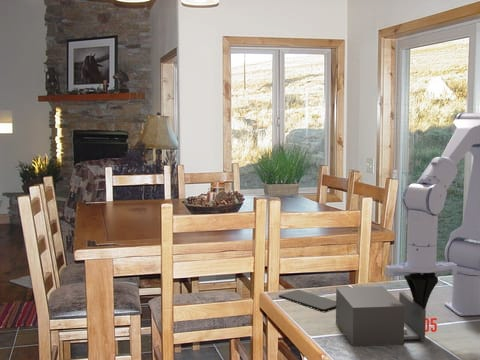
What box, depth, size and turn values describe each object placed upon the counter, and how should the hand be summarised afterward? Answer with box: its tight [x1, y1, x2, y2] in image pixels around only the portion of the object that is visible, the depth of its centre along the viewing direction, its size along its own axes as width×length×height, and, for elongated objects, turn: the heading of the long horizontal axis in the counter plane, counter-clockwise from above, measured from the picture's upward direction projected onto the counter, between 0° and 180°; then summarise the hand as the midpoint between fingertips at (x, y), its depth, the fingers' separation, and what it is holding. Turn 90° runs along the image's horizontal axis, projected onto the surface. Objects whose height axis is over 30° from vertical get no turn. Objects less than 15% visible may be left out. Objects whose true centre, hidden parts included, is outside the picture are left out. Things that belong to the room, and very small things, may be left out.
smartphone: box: [278, 289, 336, 312], centre depth 138 cm, size 7×1×15 cm
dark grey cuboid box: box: [335, 286, 405, 347], centre depth 117 cm, size 10×13×8 cm
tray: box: [398, 291, 427, 342], centre depth 118 cm, size 10×12×6 cm
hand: (419, 309), depth 118 cm, fingers closed
